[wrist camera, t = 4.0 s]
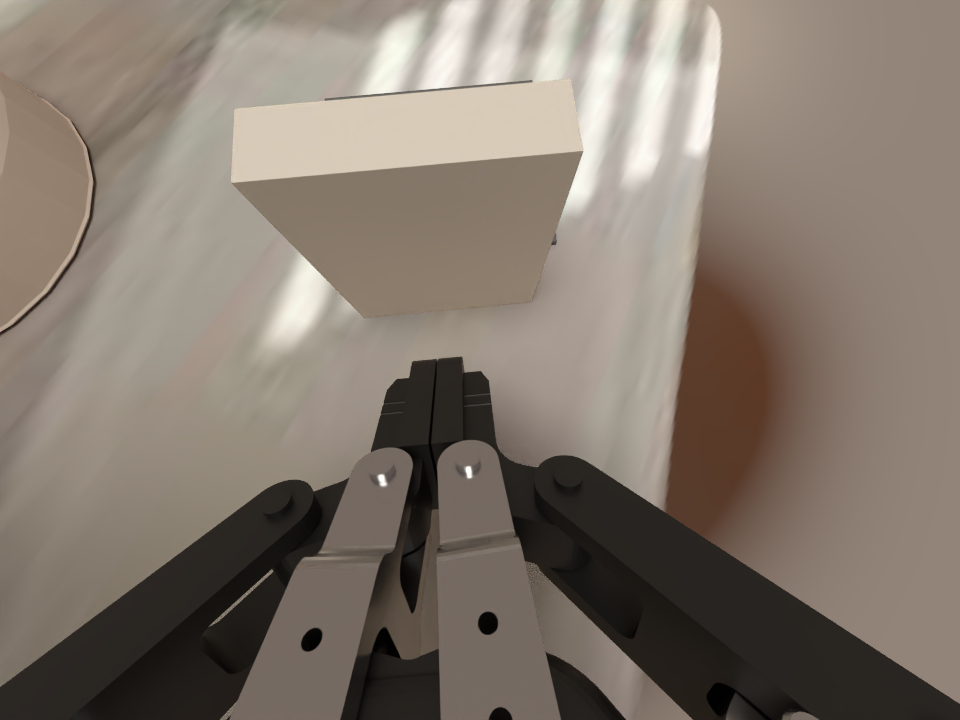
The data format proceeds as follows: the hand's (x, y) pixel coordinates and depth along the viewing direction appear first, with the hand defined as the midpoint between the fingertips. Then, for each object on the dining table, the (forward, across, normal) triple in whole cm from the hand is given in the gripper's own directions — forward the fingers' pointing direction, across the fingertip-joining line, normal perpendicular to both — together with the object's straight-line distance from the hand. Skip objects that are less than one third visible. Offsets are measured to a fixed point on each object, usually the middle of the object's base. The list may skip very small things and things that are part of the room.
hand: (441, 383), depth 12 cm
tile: (+12, 0, +2) cm, 12 cm away
